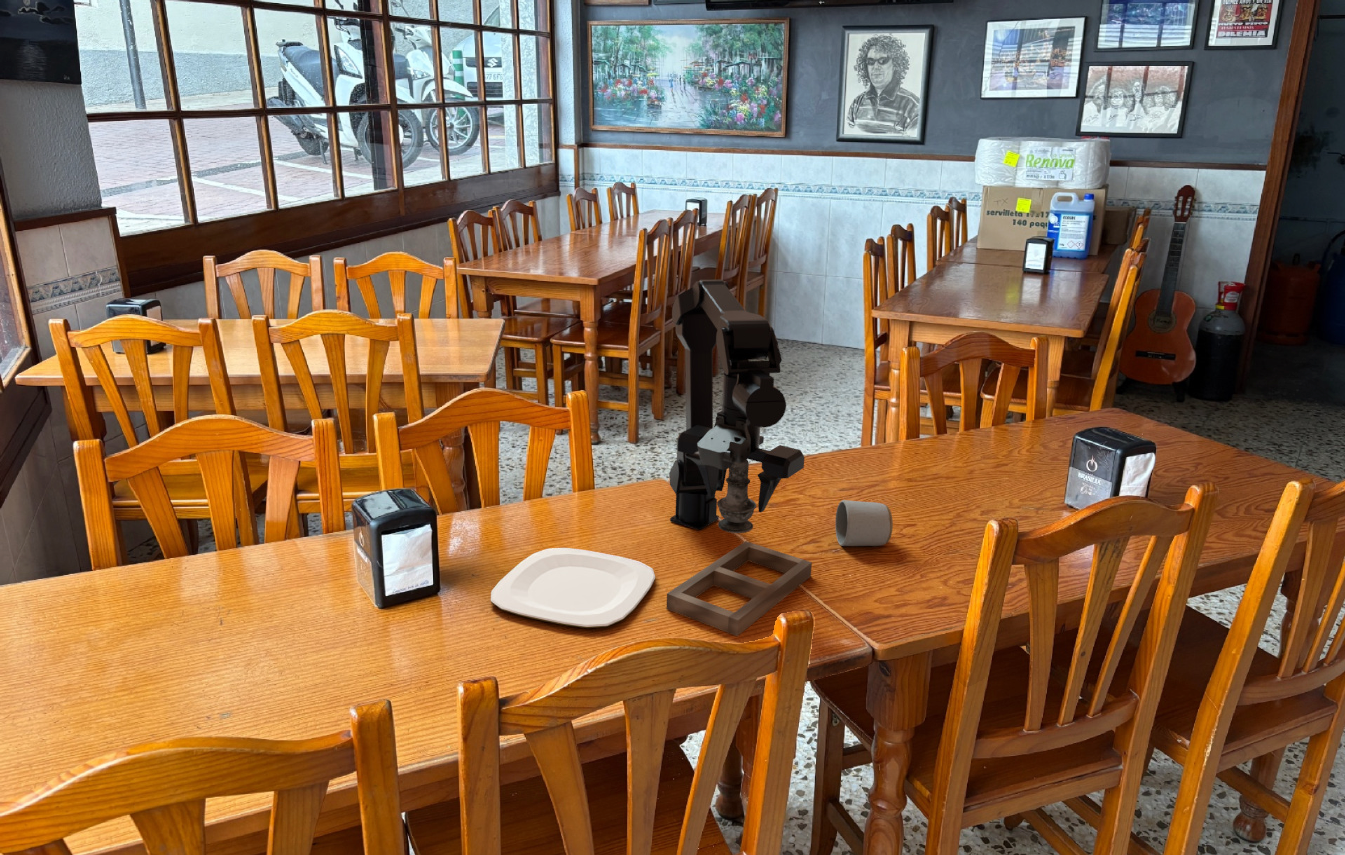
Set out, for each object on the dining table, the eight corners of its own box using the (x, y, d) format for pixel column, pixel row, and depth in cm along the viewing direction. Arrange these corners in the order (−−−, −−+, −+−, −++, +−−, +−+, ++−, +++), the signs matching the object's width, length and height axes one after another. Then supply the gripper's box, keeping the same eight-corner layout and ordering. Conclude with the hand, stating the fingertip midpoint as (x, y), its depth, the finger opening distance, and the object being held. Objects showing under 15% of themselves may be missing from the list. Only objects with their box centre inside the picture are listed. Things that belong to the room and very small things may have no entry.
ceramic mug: (892, 553, 152) (897, 510, 150) (844, 553, 152) (848, 510, 149) (873, 526, 162) (877, 486, 160) (827, 527, 162) (831, 486, 159)
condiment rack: (666, 608, 133) (666, 593, 132) (744, 554, 150) (745, 541, 149) (737, 636, 127) (737, 620, 126) (810, 576, 144) (811, 562, 143)
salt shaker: (711, 519, 141) (714, 445, 137) (747, 516, 142) (751, 443, 138) (723, 535, 135) (726, 459, 131) (760, 532, 137) (765, 457, 133)
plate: (667, 574, 144) (667, 564, 144) (614, 644, 125) (614, 633, 124) (542, 550, 151) (542, 541, 150) (473, 613, 131) (473, 603, 131)
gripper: (656, 405, 131) (654, 506, 136) (772, 433, 121) (765, 540, 126) (698, 388, 140) (695, 483, 145) (809, 412, 130) (801, 513, 135)
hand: (736, 504), depth 137 cm, fingers closed on salt shaker, 8 cm apart
